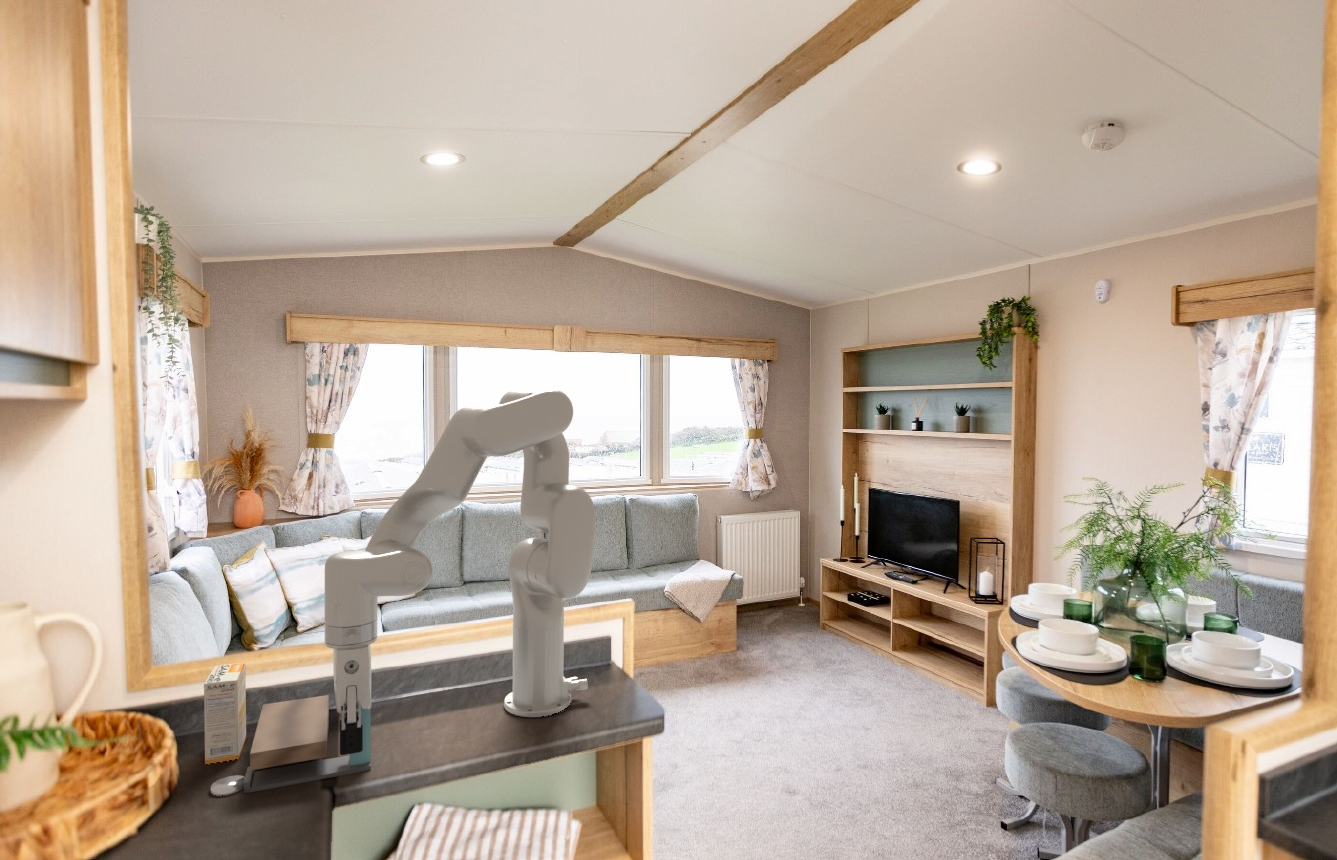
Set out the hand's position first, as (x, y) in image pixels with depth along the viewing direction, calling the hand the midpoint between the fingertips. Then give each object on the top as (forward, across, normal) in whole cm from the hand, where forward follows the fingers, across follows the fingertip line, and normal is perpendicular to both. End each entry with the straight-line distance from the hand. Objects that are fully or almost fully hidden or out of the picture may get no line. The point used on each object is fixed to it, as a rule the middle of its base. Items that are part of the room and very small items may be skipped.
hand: (351, 747), depth 110 cm
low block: (+3, +7, +8) cm, 11 cm away
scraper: (+3, 0, +6) cm, 7 cm away
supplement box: (+3, +13, +18) cm, 23 cm away
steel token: (+3, 0, +16) cm, 17 cm away
